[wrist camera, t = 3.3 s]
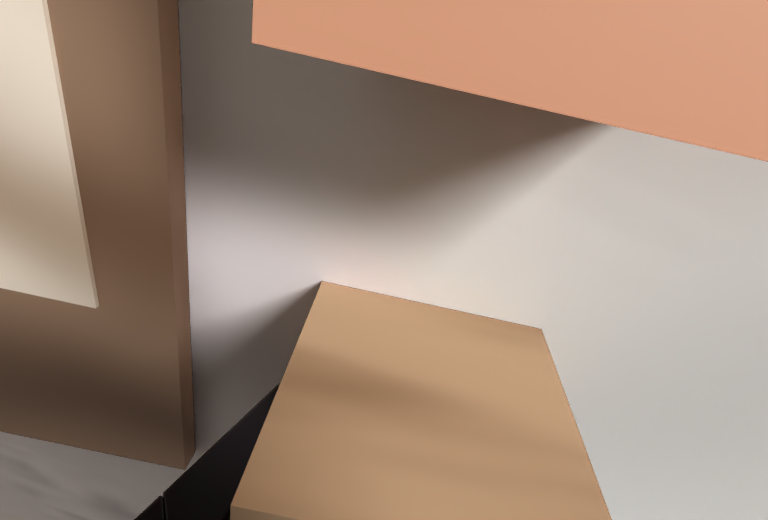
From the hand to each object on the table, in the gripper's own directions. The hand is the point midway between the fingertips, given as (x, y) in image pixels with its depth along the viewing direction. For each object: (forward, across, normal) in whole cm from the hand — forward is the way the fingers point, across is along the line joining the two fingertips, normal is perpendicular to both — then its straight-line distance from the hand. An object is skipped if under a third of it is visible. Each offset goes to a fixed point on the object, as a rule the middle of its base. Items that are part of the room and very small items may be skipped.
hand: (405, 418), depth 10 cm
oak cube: (+1, 0, 0) cm, 1 cm away
